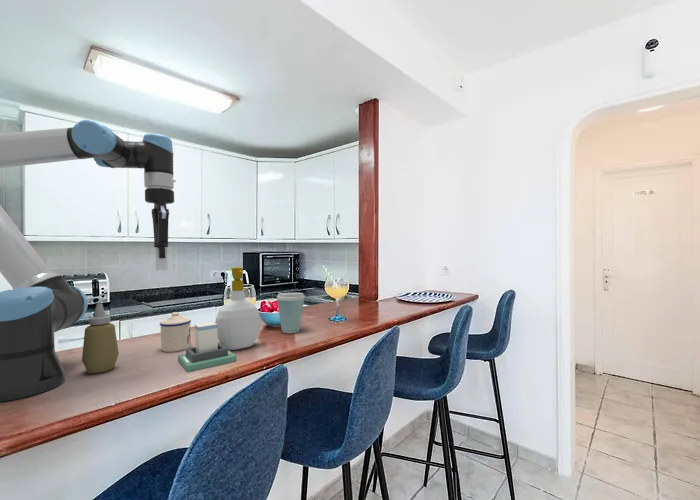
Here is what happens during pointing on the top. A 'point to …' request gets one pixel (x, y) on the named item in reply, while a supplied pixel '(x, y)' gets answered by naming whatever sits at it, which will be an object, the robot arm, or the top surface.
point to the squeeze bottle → (100, 343)
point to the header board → (206, 358)
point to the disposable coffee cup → (290, 311)
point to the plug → (206, 337)
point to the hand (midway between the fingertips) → (161, 269)
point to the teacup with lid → (175, 333)
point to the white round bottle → (237, 317)
